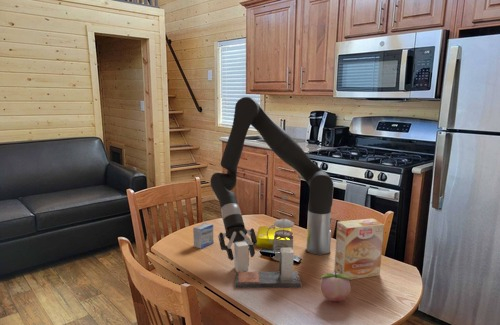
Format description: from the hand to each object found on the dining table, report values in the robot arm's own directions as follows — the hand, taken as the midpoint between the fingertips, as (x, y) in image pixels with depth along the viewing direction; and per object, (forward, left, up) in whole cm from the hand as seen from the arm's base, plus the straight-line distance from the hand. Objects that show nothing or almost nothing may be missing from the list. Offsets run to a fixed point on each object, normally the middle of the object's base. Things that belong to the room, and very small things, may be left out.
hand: (242, 257), depth 128 cm
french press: (-15, -12, -5) cm, 21 cm away
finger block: (+1, -1, -5) cm, 5 cm away
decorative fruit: (-28, +20, -5) cm, 35 cm away
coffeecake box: (-41, +3, -5) cm, 42 cm away
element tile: (-14, -27, -6) cm, 32 cm away
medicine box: (+17, -23, -5) cm, 29 cm away
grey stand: (-8, +8, -5) cm, 13 cm away
